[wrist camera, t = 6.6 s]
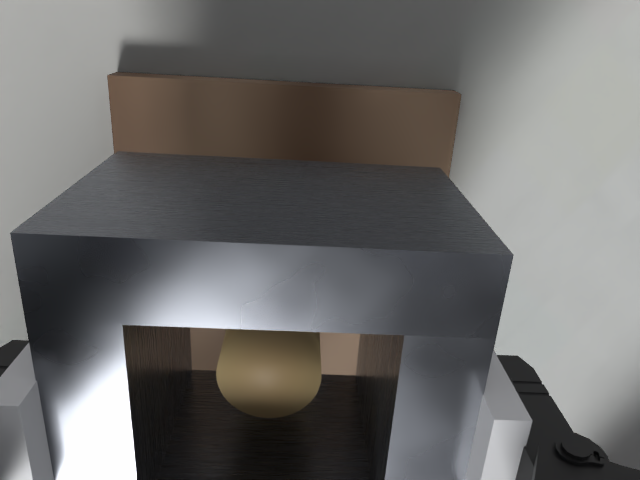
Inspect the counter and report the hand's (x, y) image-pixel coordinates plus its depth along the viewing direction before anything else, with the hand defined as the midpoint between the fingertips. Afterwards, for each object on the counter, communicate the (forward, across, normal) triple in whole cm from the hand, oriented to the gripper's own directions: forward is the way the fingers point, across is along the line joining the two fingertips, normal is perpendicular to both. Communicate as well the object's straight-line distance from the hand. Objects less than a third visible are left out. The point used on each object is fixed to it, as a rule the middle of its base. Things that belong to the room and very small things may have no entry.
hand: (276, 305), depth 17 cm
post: (+5, 0, 0) cm, 5 cm away
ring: (0, 0, 0) cm, 0 cm away
